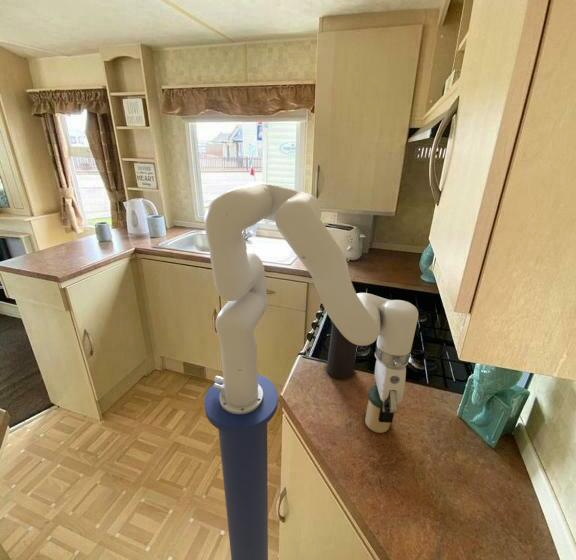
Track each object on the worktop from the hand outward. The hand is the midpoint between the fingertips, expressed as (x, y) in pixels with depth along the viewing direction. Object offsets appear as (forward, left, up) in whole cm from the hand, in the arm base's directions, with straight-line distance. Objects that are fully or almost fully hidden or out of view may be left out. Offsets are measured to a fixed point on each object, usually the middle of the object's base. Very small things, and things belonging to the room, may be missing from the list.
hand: (381, 408), depth 79 cm
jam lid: (0, 0, +4) cm, 4 cm away
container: (-13, +16, -5) cm, 21 cm away
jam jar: (0, 0, -5) cm, 5 cm away
